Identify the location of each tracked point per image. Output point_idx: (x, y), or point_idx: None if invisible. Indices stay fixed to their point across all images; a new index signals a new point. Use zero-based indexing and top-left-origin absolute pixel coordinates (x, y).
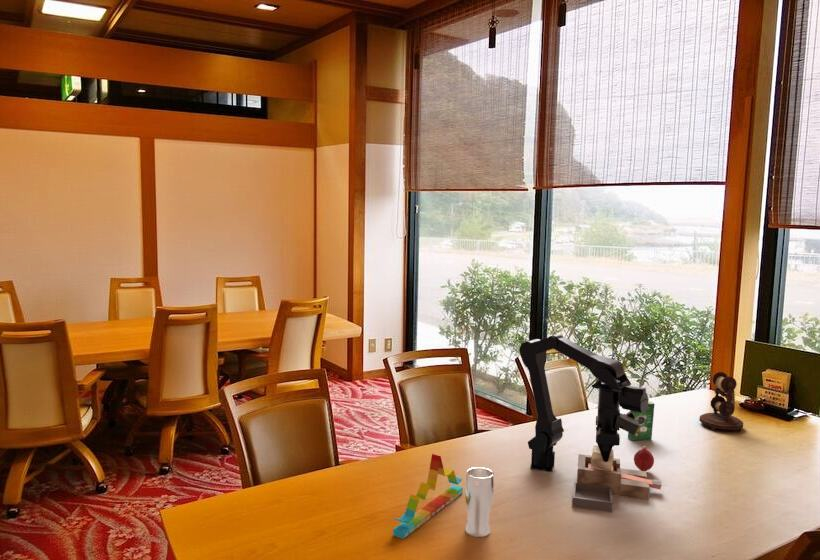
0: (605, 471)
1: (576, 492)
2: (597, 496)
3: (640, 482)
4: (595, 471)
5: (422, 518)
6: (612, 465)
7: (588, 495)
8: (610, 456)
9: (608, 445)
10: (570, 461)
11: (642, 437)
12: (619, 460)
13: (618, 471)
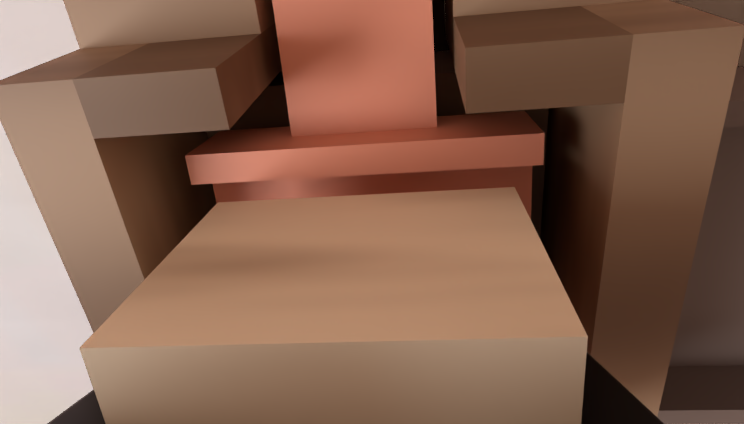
0: (655, 274)
1: (674, 359)
2: (737, 206)
3: None
4: (660, 379)
5: None
6: (195, 161)
7: (724, 277)
8: (580, 384)
9: None
10: (23, 399)
11: None
12: (58, 87)
13: (608, 83)
